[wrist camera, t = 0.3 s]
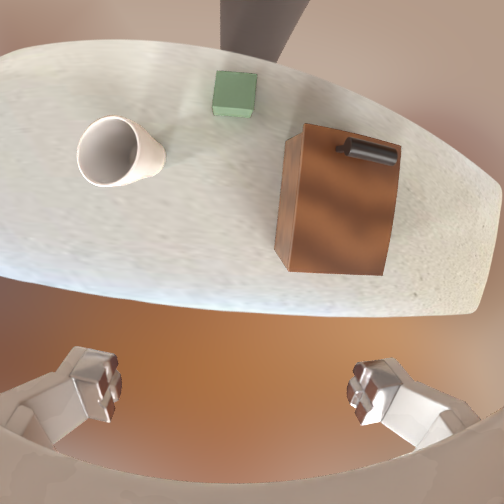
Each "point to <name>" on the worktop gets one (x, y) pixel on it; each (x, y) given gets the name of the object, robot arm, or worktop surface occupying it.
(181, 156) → the worktop surface
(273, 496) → the robot arm
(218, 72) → the block
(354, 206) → the lid
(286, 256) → the chest
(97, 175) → the white tapered cylinder
